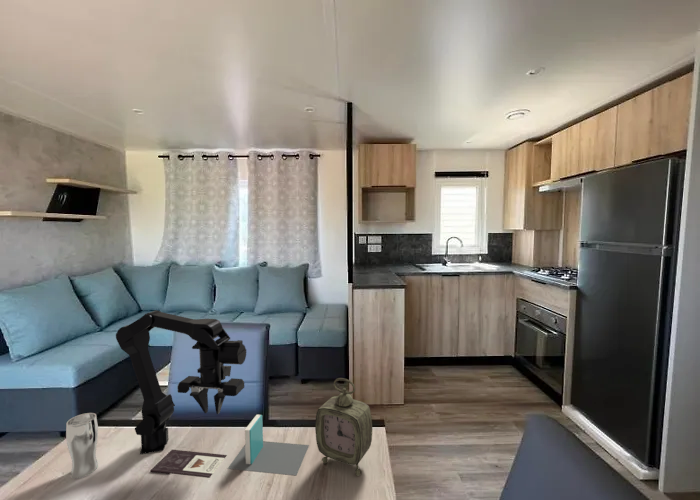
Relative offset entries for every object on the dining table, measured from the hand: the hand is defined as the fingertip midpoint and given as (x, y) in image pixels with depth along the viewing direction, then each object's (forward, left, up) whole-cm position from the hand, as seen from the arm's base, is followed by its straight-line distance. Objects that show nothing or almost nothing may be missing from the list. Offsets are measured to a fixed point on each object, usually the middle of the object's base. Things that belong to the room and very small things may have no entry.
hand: (212, 413), depth 101 cm
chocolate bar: (-6, -4, -13) cm, 15 cm away
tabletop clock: (+37, -17, -12) cm, 43 cm away
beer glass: (-34, +2, -12) cm, 36 cm away
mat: (+16, -8, -12) cm, 22 cm away
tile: (+12, -6, -12) cm, 18 cm away
